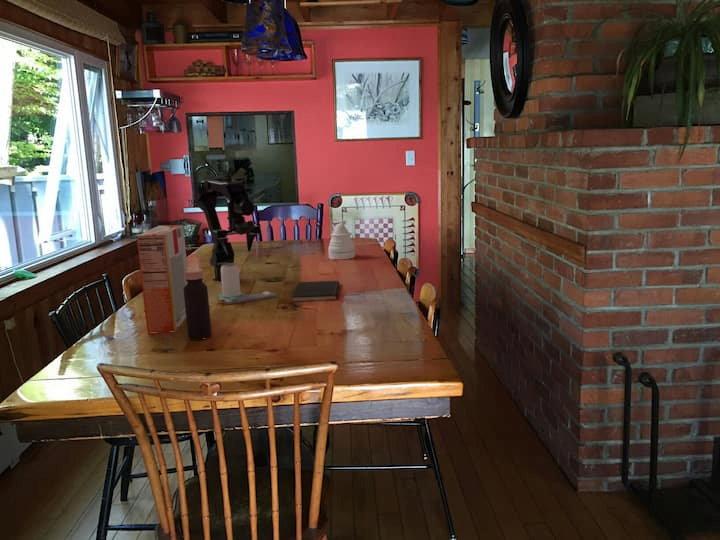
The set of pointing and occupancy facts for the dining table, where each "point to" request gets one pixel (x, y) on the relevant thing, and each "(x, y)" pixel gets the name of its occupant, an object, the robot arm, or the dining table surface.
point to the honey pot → (341, 243)
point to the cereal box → (163, 276)
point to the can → (230, 280)
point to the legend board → (249, 297)
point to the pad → (224, 297)
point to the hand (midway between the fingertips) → (238, 253)
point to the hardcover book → (316, 290)
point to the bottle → (197, 305)
